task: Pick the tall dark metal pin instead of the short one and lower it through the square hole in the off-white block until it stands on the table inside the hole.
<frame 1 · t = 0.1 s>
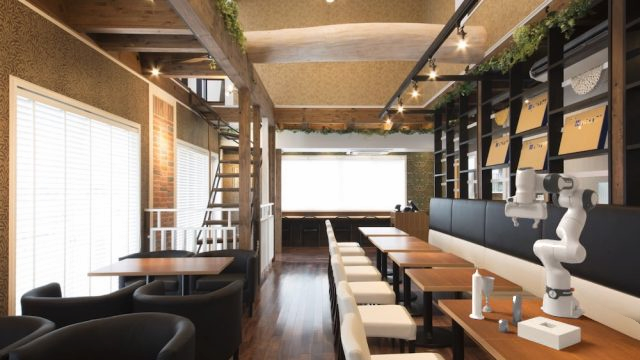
hand: (525, 227, 198), 48 cm above the table, tool pointing down, fingers open, 8 cm apart
short pin: (503, 331, 186), on the table
chalice: (487, 311, 217), on the table
hole block: (548, 338, 178), on the table
long pin: (517, 324, 196), on the table
candle: (477, 317, 206), on the table
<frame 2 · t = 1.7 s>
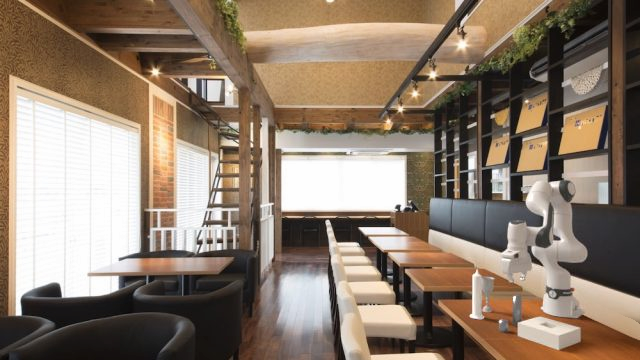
hand: (517, 281, 196), 21 cm above the table, tool pointing down, fingers open, 8 cm apart
nothing on the table moved.
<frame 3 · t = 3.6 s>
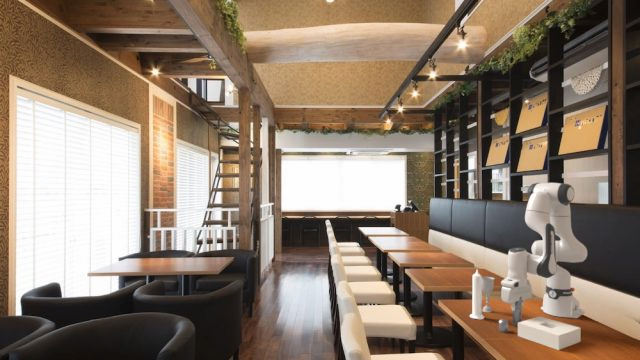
hand: (517, 309, 196), 8 cm above the table, tool pointing down, fingers closed on long pin, 4 cm apart
long pin: (517, 324, 196), on the table, touching gripper
everything else where it was.
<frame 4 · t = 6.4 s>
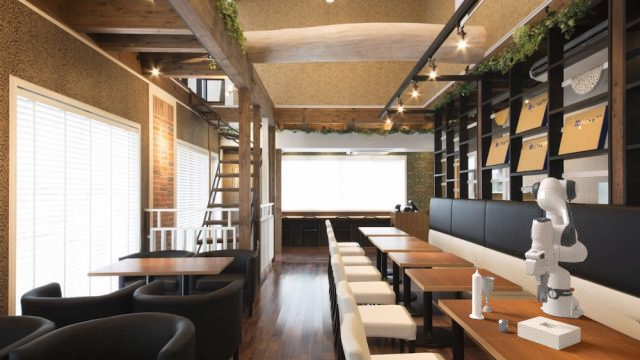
hand: (542, 283, 181), 24 cm above the table, tool pointing down, fingers closed on long pin, 4 cm apart
long pin: (542, 301, 181), point 16 cm above the table, touching gripper
everything else where it was.
when the fingers open (9 cm above the table, at t = 9.4 s): long pin drops 1 cm, resting in hole block.
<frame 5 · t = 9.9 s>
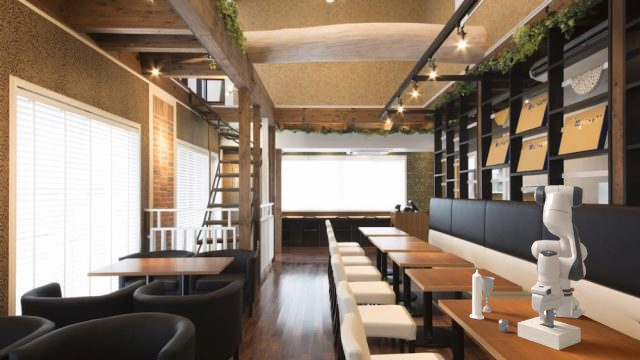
hand: (548, 318, 178), 9 cm above the table, tool pointing down, fingers open, 8 cm apart
long pin: (548, 338, 178), resting in hole block
everything else where it was.
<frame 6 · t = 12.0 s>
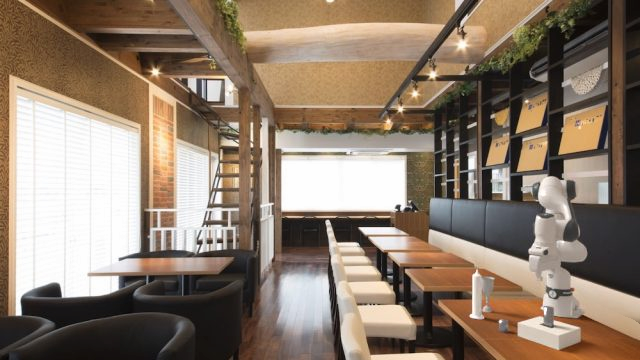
hand: (545, 279, 181), 26 cm above the table, tool pointing down, fingers open, 8 cm apart
nothing on the table moved.
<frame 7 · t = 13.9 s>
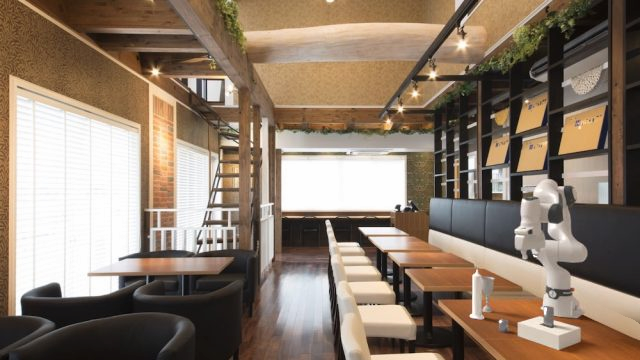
hand: (530, 258, 193), 33 cm above the table, tool pointing down, fingers open, 8 cm apart
nothing on the table moved.
at the end: long pin 0.1 cm off-centre on the hole block, point 0.0 cm above the hole block's base; long pin tilted 0°; short pin moved 0.1 cm from its start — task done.
